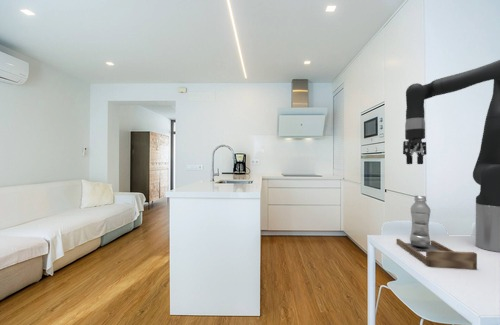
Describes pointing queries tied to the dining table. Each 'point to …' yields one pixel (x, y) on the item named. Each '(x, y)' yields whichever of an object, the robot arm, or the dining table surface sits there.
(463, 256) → the wooden tray frame
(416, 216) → the plastic bottle
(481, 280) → the dining table surface
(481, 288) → the dining table surface
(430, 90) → the robot arm
